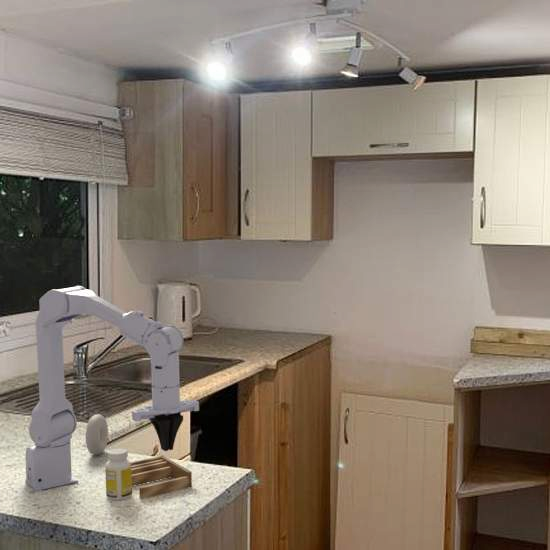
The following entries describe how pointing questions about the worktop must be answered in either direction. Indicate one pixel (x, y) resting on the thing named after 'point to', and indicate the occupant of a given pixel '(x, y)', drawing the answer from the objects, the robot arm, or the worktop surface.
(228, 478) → the worktop surface
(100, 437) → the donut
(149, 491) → the wooden slatted frame
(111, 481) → the supplement bottle
